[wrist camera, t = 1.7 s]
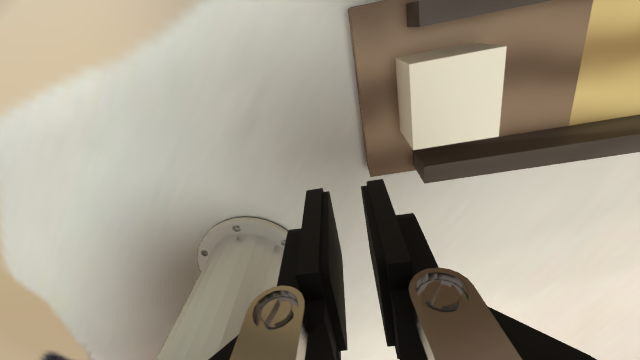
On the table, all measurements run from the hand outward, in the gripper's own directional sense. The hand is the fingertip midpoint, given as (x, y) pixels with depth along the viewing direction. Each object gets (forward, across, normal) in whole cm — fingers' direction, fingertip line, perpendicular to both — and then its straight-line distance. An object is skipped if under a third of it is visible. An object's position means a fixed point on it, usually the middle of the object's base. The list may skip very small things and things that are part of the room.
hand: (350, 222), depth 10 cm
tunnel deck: (+19, -20, 0) cm, 27 cm away
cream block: (+17, -8, 0) cm, 18 cm away
